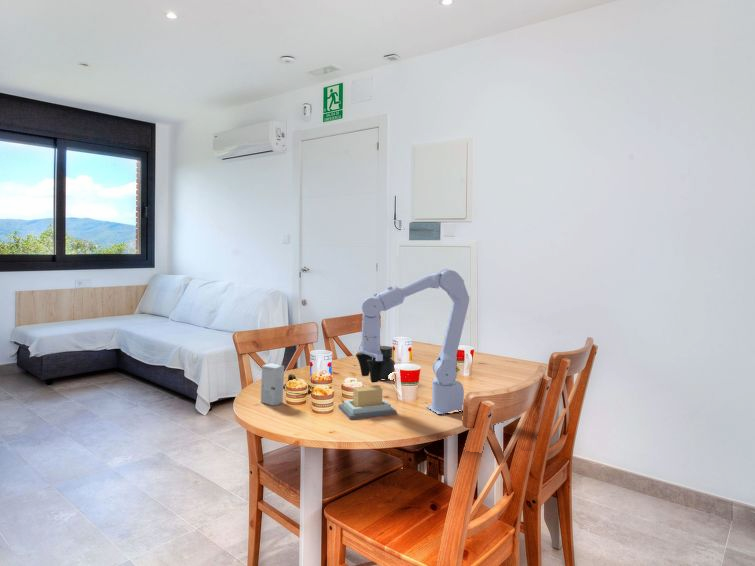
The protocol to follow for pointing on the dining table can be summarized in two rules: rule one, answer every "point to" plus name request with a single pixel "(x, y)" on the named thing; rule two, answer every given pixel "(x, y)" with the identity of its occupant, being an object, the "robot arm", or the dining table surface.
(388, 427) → the dining table surface
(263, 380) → the skincare box
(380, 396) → the ochre block
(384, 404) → the board
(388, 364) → the ink bottle
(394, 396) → the dining table surface
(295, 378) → the seal
